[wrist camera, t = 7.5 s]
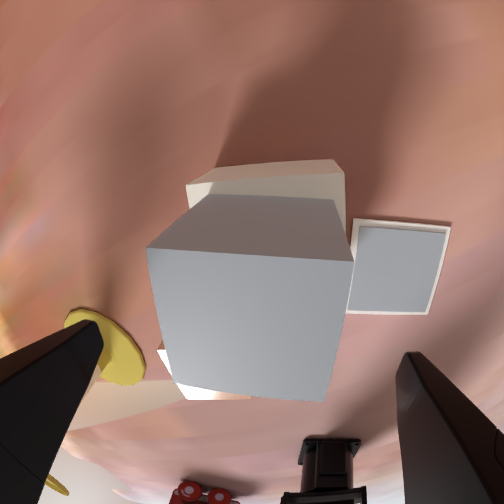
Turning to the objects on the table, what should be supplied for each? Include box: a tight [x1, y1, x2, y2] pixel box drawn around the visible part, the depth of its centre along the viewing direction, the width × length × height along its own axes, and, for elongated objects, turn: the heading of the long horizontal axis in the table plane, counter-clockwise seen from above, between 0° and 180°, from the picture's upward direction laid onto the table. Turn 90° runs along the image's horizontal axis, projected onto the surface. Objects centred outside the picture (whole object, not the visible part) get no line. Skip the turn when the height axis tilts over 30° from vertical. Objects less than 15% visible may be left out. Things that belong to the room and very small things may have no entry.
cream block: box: [186, 159, 346, 234], centre depth 16 cm, size 7×7×5 cm
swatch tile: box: [345, 218, 451, 315], centre depth 18 cm, size 7×7×1 cm
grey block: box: [145, 194, 354, 402], centre depth 11 cm, size 6×6×6 cm
